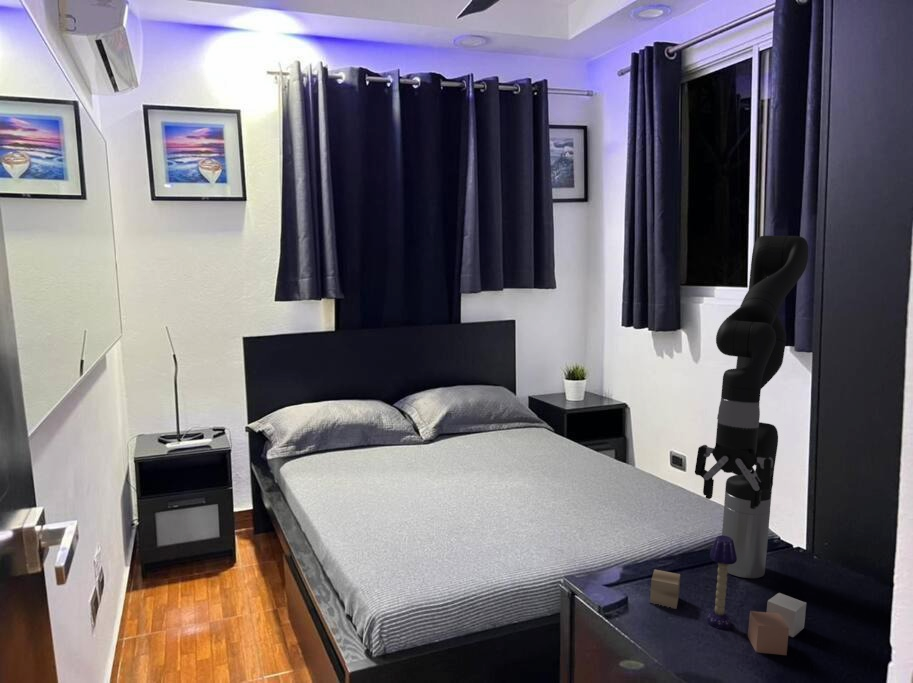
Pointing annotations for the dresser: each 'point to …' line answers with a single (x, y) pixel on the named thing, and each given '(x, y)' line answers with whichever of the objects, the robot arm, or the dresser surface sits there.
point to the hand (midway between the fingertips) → (730, 502)
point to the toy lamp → (721, 579)
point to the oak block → (665, 588)
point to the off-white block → (788, 611)
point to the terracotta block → (768, 633)
